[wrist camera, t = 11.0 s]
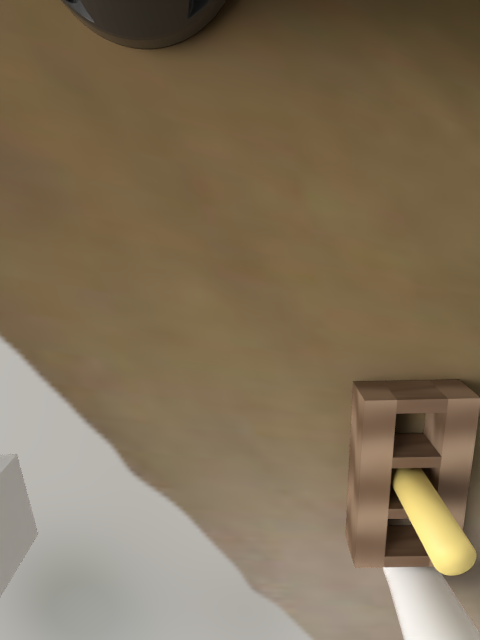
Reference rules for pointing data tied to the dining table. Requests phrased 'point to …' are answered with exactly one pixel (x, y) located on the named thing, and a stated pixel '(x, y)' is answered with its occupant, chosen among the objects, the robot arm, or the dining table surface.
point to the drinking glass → (428, 605)
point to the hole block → (405, 463)
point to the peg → (433, 522)
